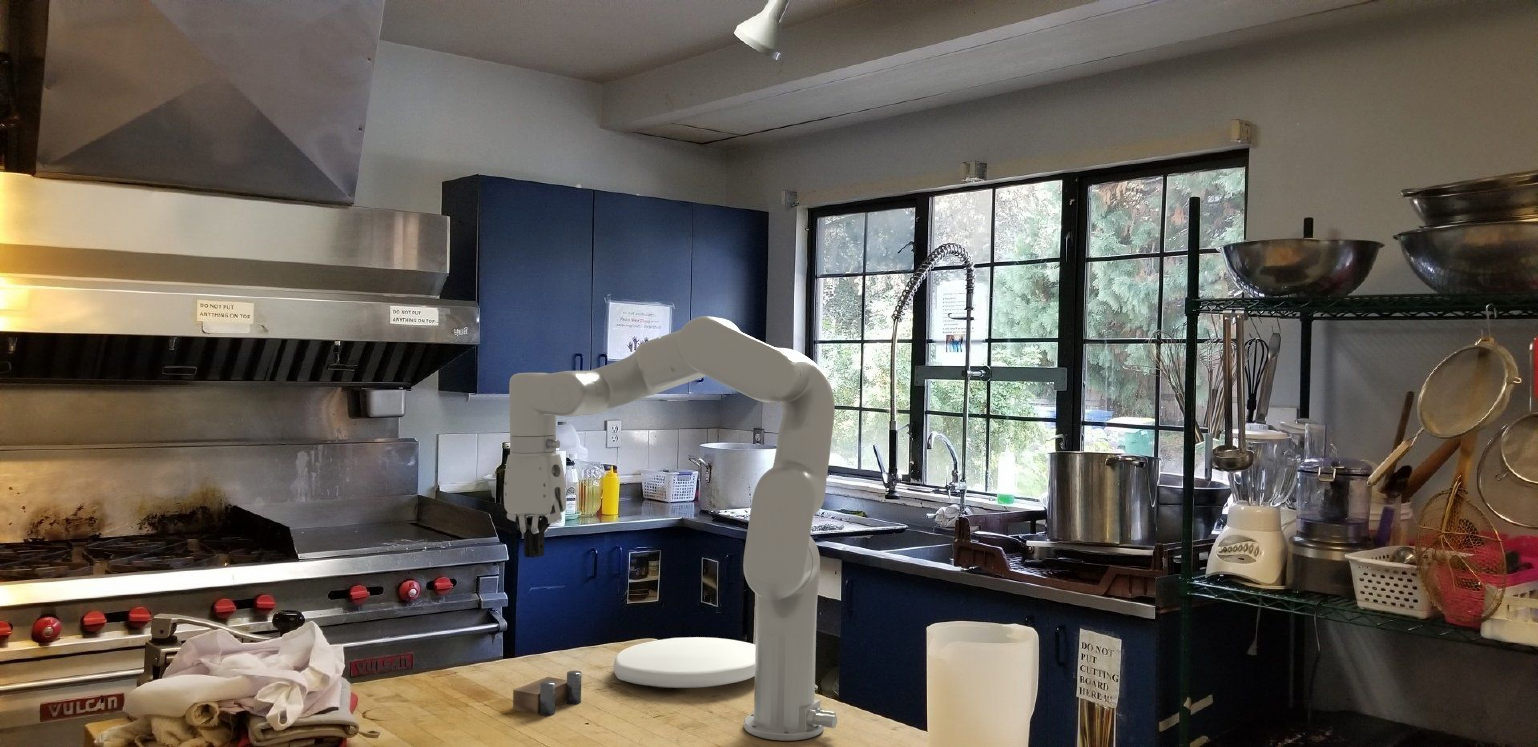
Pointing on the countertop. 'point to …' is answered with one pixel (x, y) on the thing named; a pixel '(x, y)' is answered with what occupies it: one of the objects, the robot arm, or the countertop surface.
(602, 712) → the countertop surface
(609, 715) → the countertop surface
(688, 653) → the white thick disc
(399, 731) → the countertop surface
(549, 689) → the bench dogs
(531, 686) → the block
